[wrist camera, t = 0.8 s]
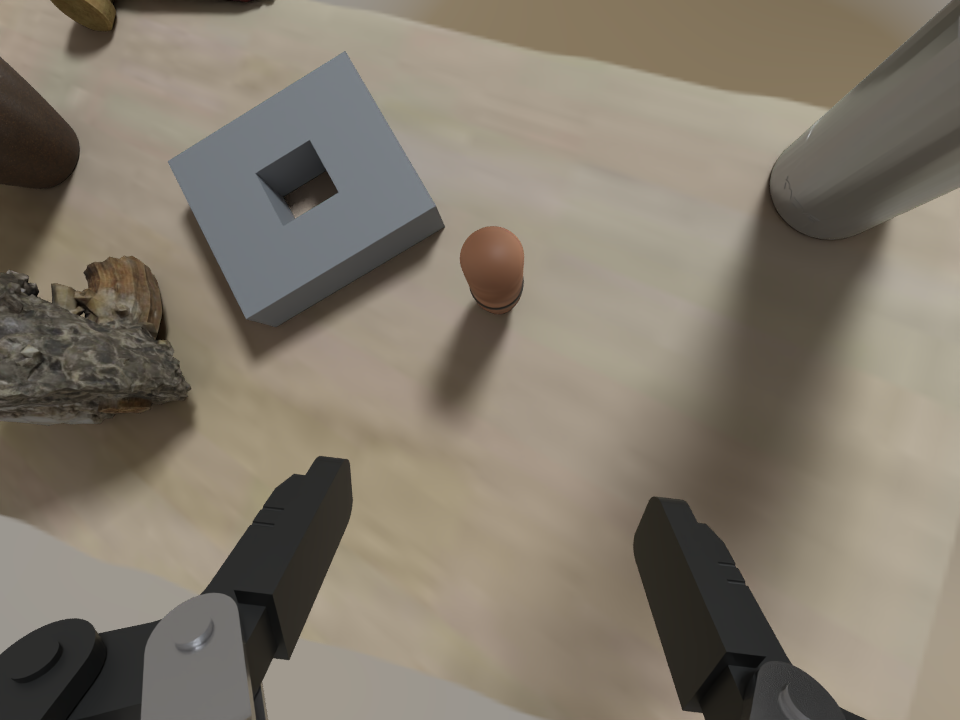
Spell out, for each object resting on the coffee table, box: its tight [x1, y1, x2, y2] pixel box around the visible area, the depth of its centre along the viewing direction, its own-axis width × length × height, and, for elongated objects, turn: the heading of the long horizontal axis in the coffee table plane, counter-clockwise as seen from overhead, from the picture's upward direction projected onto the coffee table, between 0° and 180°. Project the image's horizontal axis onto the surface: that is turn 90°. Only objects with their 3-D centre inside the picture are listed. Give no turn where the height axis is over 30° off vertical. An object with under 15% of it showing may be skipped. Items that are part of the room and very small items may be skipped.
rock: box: [0, 256, 191, 426], centre depth 30 cm, size 18×14×15 cm
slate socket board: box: [168, 51, 445, 327], centre depth 35 cm, size 18×16×4 cm
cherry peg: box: [460, 226, 524, 314], centre depth 29 cm, size 4×4×10 cm
